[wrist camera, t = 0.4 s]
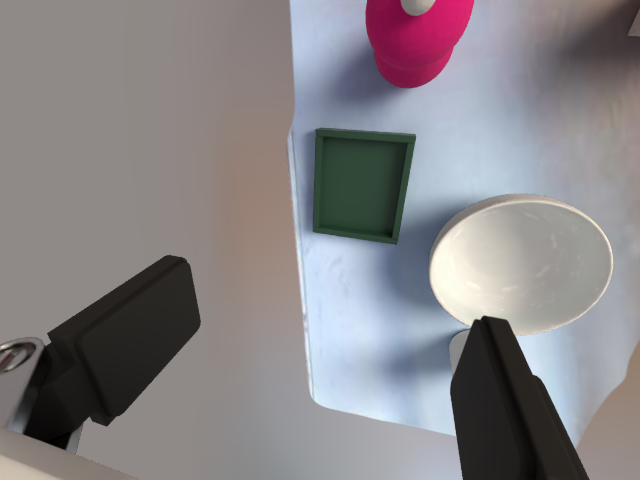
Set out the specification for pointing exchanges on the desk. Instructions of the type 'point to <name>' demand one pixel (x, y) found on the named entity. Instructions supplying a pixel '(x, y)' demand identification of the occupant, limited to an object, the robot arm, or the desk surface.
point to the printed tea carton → (635, 26)
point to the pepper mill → (415, 37)
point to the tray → (361, 183)
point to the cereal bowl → (520, 263)
